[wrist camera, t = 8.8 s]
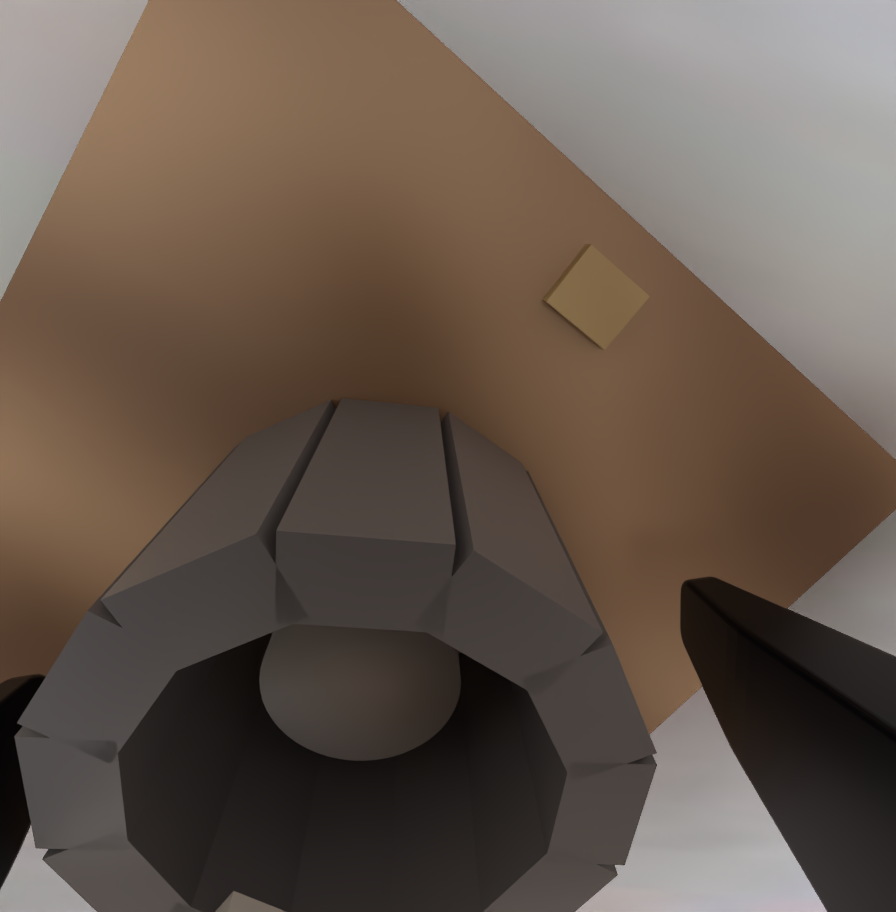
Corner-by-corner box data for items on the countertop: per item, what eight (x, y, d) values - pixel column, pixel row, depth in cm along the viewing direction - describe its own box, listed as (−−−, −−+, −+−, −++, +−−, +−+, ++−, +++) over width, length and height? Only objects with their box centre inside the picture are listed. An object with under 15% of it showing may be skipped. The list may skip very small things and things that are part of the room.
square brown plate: (448, 873, 15) (458, 1090, 11) (-120, 609, 11) (-391, 795, 7) (880, 464, 11) (1113, 575, 7) (250, -107, 8) (88, -447, 4)
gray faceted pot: (627, 536, 10) (796, 774, 6) (408, 772, 12) (402, 1099, 7) (318, 319, 9) (207, 404, 4) (117, 628, 10) (-122, 932, 6)
